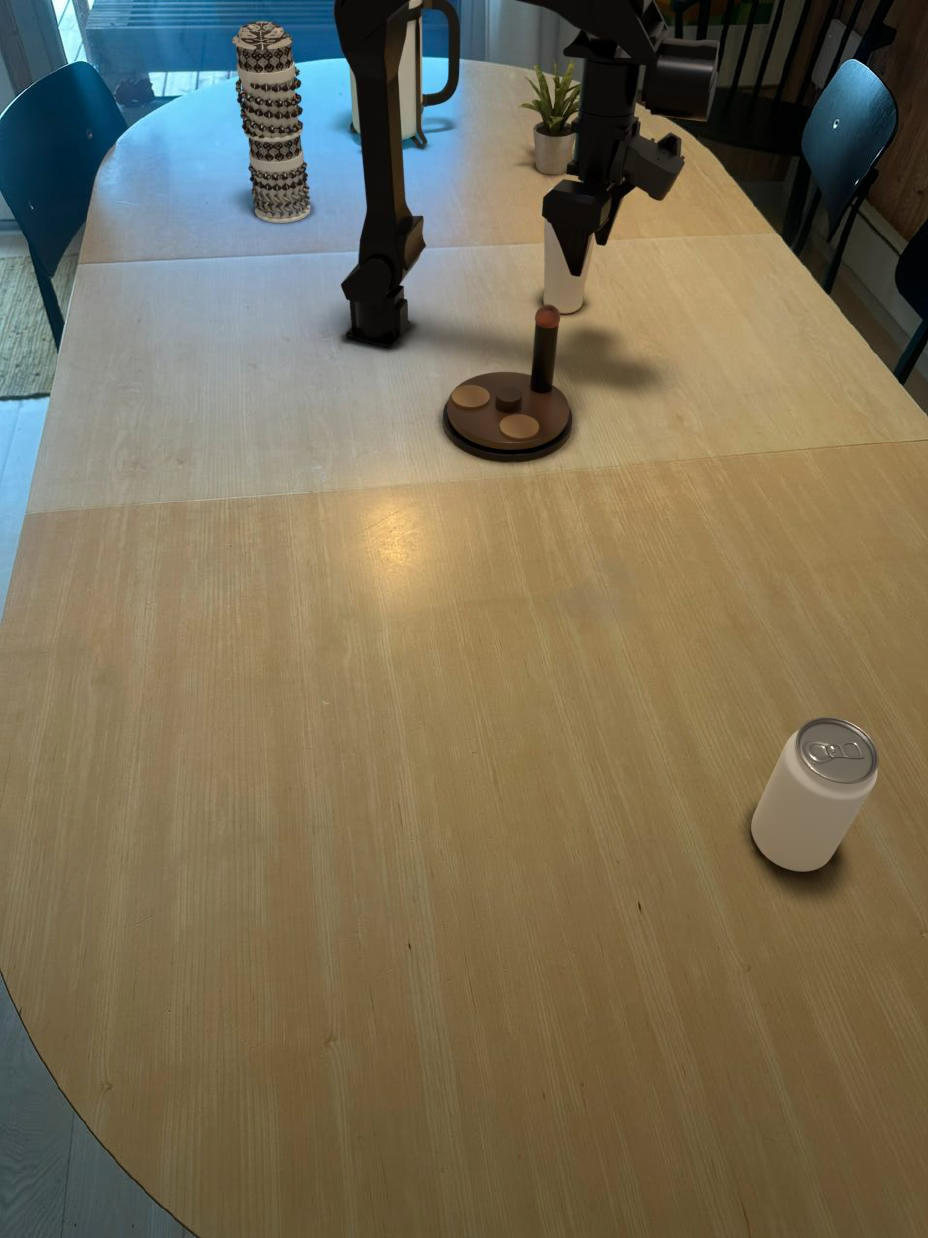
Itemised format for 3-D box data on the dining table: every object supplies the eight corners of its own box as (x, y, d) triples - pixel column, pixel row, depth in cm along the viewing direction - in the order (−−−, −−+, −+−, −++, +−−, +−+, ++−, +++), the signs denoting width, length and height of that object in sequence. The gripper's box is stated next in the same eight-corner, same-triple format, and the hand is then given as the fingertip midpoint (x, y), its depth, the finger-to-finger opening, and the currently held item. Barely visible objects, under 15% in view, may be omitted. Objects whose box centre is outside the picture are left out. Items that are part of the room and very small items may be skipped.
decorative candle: (325, 206, 150) (310, 24, 131) (287, 229, 144) (265, 42, 126) (279, 192, 153) (258, 11, 135) (240, 213, 148) (212, 28, 129)
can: (739, 804, 78) (778, 714, 69) (817, 799, 79) (865, 709, 70) (763, 877, 74) (807, 791, 65) (845, 871, 74) (900, 785, 65)
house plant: (600, 190, 156) (614, 80, 144) (514, 188, 156) (521, 77, 144) (593, 154, 165) (606, 48, 153) (512, 152, 165) (519, 45, 153)
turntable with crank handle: (508, 466, 105) (514, 375, 97) (422, 410, 112) (421, 320, 103) (593, 415, 112) (606, 326, 103) (507, 365, 118) (512, 277, 110)
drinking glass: (584, 320, 128) (598, 208, 117) (534, 314, 129) (543, 202, 118) (590, 295, 133) (604, 185, 122) (541, 289, 134) (550, 179, 123)
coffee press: (403, 164, 161) (398, -50, 139) (327, 142, 167) (311, -68, 145) (460, 131, 171) (464, -73, 149) (387, 111, 177) (380, -89, 155)
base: (422, 443, 110) (422, 435, 109) (470, 374, 119) (470, 367, 119) (548, 475, 106) (549, 468, 105) (587, 402, 116) (588, 395, 115)
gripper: (660, 148, 89) (635, 308, 100) (706, 95, 102) (679, 242, 113) (546, 130, 92) (534, 287, 103) (604, 80, 105) (588, 225, 116)
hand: (588, 259), depth 109 cm, fingers open, 9 cm apart
